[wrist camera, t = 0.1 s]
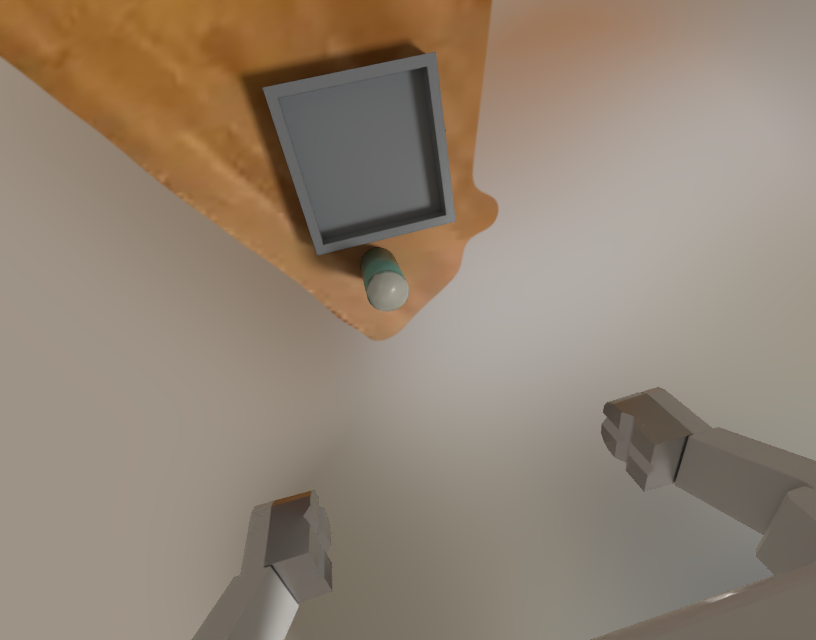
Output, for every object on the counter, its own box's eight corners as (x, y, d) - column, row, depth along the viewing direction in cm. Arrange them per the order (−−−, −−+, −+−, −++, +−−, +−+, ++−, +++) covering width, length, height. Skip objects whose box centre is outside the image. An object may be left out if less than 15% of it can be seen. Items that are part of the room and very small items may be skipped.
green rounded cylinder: (356, 252, 56) (362, 278, 48) (392, 243, 57) (404, 267, 48) (364, 285, 59) (372, 315, 51) (399, 277, 60) (412, 305, 51)
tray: (266, 89, 44) (262, 87, 41) (428, 55, 46) (435, 51, 43) (317, 247, 55) (317, 255, 52) (448, 215, 56) (455, 221, 53)
